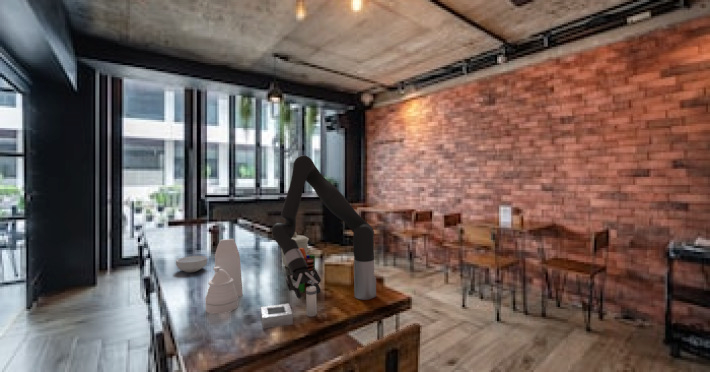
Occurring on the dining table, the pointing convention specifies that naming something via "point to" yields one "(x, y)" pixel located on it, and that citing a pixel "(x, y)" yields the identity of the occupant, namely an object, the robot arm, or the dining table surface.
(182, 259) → the cereal bowl
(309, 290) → the plug
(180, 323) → the dining table surface
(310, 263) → the motor
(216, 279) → the honey pot
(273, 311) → the box
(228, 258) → the tall white vase
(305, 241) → the canister
